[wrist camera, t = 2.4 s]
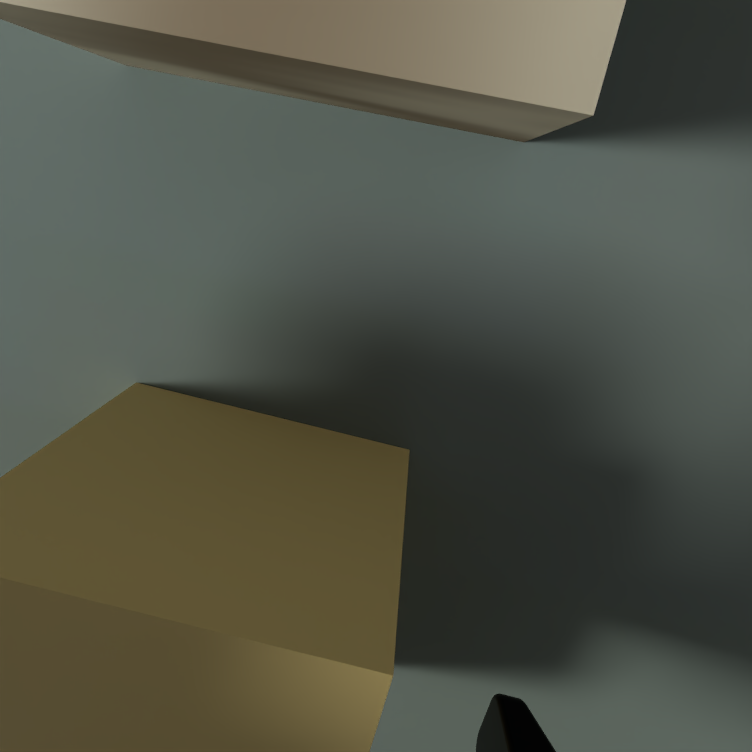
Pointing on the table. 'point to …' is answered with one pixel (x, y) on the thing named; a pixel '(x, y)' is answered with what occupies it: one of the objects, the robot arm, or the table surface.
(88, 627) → the ochre block
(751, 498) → the table surface
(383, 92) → the birch base block
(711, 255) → the table surface
